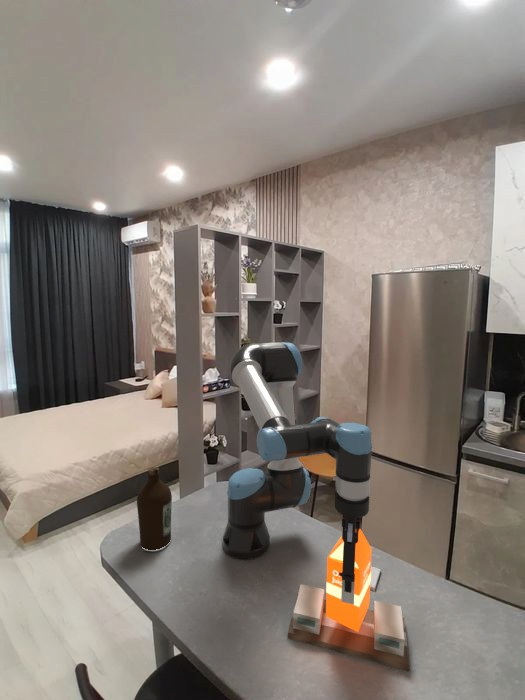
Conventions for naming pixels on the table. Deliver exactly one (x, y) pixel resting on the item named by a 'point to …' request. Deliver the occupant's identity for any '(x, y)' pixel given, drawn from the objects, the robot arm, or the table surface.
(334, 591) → the orange juice
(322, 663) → the table surface
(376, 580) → the external hard drive
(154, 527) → the olive oil
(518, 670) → the table surface
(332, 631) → the rail board
